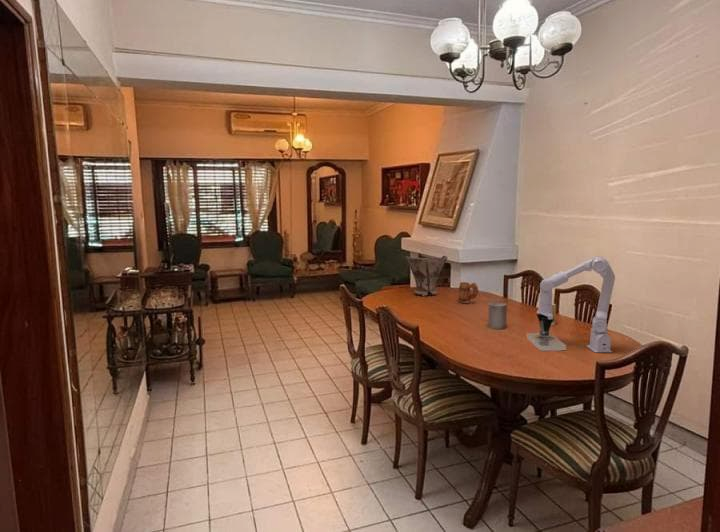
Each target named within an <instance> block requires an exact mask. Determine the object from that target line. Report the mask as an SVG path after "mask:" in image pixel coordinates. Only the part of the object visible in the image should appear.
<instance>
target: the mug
mask: <svg viewBox="0 0 720 532" xmlns="http://www.w3.org/2000/svg"><path fill="white" fill-rule="evenodd" d="M458 290H459V296H458V301H459V303H460V304H463V303H466V304H470V303H471V300H473V299H476V298H477V296H478V293H479V287H478V285H477V284H476V282H471V283H469V282H465V281H464V282H463V281H462V282H460V283H459V287H458ZM471 290H472V292H471Z"/></svg>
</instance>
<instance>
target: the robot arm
mask: <svg viewBox="0 0 720 532" xmlns="http://www.w3.org/2000/svg"><path fill="white" fill-rule="evenodd" d="M592 271H594V272H595V273H597V274H599V275H600V276H601V277H602V279H603V280H602V284H601V288H600V289H601V290H600V294H599V299H598V304H597V308H596V312H595V315H594V317H592V320H591V323H592V327H591V328H590V336H589V338H590V339H589V344H586V345H585V346H586V347H587V348H588V349H590V350H591V351H592V352H594V353H613V351H612V350H611V345H612V344H611V343H612V339H611V337H610V335H609V333H608V332H609V330H608V323H607V322H608V320H607V319H608V313H609V307H610V304H611V298H612V293H613V289H614V285H615V281H616V275H615V272H614V271H613V269H612V266H611V265H610V263H609V262H608V261H607V259H605V257H603V256H595V257H593V258H590V259H587V260H586V261H583V262H581V263H580V264H578V265H576V266H574V267H572V268H569V270H567V271H562V270H561V271H556V273H555V274H553V275H551V276H547V277H546V278H544V279H542V280H541V282H540V284H539V288H540V293H539V306H538V308H537V311H536V317H537V319H538V322H539V325H540V320H542V321H543V328H544V331H549V332H550V328H551V326H552V325H551V323H552V322H553V320H554V318H553V315H552V303H553V288H557V287H560V286H562V285H563V284H565V283H568V281H569V278H573V277H574V276H576V275H579V274H581V273H583V272H592Z"/></svg>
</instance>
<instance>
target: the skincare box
mask: <svg viewBox="0 0 720 532" xmlns="http://www.w3.org/2000/svg"><path fill="white" fill-rule="evenodd" d="M556 311H557V304H556V303H553V302H552V315H553V318H554V320H553V322H552V323H551V326H555V325H556Z"/></svg>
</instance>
